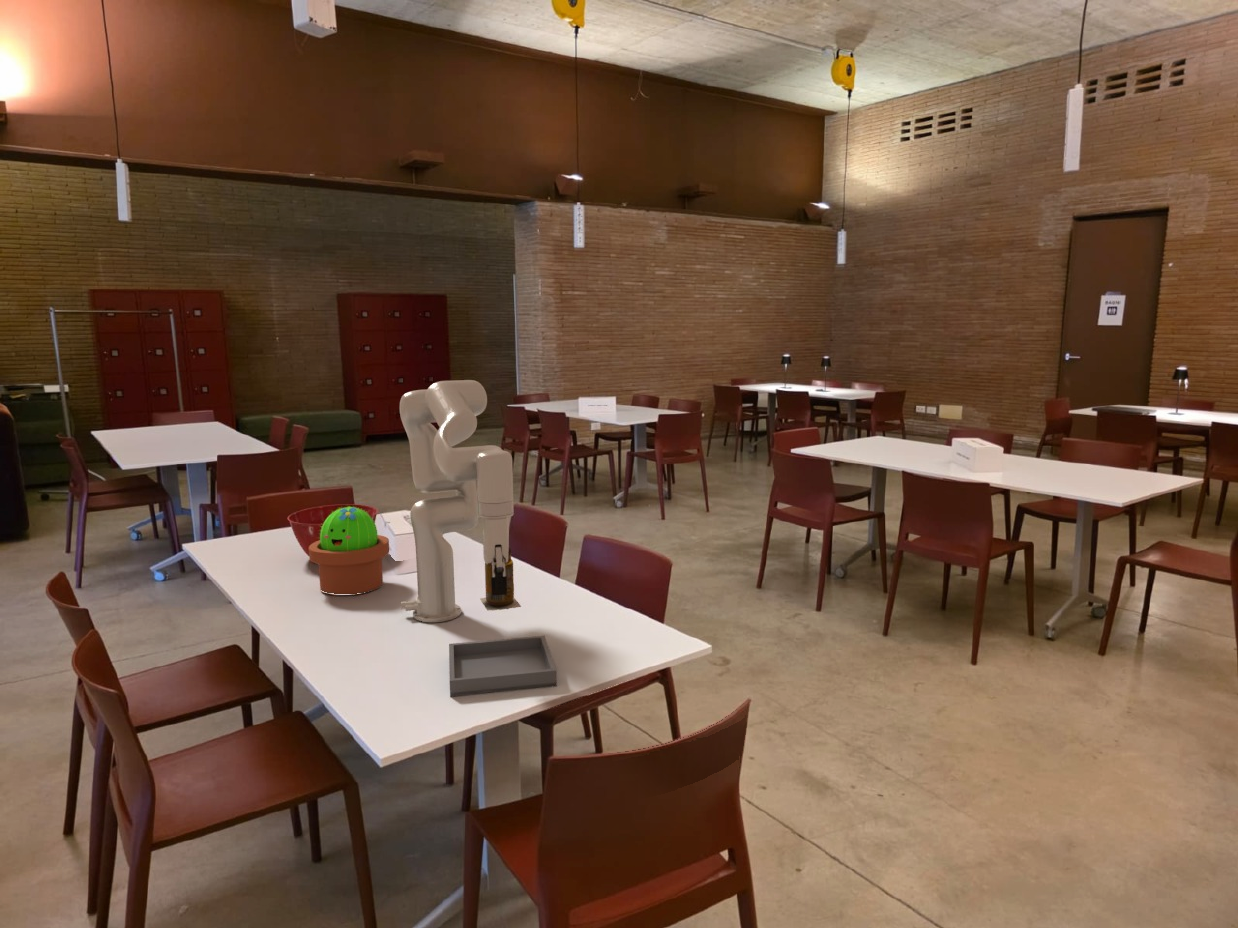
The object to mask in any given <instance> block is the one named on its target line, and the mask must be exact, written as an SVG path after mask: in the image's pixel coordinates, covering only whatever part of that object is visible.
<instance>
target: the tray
mask: <svg viewBox="0 0 1238 928" xmlns="http://www.w3.org/2000/svg"><path fill="white" fill-rule="evenodd" d="M549 647H550V646H549V644H548V642H547V639H546V636H545V635H535V636H523V637H515V638H514V637H512V638H501V639H490V640H489V639H488V640H477V641H469V642H465V641H464V642H455V643H449V644H448V654H449V655H448V660H449V662H448V664H449V665H448V668H449V669H448V670H449V672H448V673H449V694H450V695H449V696H450V698H453V697H454V698H455V697H463V696H464V697H465V696H470V695H471V696H473V695H483V694H494V693H502V692H512V691H513V692H514V691H521V690H530V689H542V688H553V687H557V684H558V683H557V681H558V680H557V676H558V675H557V668H556V665H555V662H554V659H553V657H552V654H551V651H550V650H551V649H550V648H549ZM552 686H553V687H552Z"/></svg>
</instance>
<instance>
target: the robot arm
mask: <svg viewBox="0 0 1238 928" xmlns="http://www.w3.org/2000/svg"><path fill="white" fill-rule="evenodd" d="M487 404H488V395H487V392H486V390H485V387H484V386H483V385H482V383H480V382H479V381H476V380H474V379H473V380H472V379H464V380H457V379H456V380H440V381H436V382H434V383H432V384H431V385H430V386H429V387H428V388H427V389H417V390H411V391H408V392H406V393H404V394H403V395H402V396H401V398H400V401H399V414H400V415H399V416H400V420H401V422H402V425H403V429H404V430H405V432H406V435H407V438H408V442H409V449H410V450H409V451H410V462H411V469H412V470H411V471H412V480H413V484H414V487H415V490H417V492H419V493H423V494H434V493H435V494H436V493H442V492H445V493H447V492H452V491H453V492H455V495H450V496H440V497H431V498H424V499H421V500H418V501H417V502H415V503H414V504H413V505H412V507H411V509H410V513H409V515H410V521H411V526H412V531H413V536H414V543H415V557H416V558H415V559H416V561H415V563H416V578H417V597H416V599H413V601H401V602H400V608H401V610H405V612H410V611H413V612H412V617H413V619H415V620H416V621H418V622H421V621H422V622H421V623H441V622H443V623H444V622H447V621H450V620H454V619H456V618H457V617H459V616H460V615H461V614H462V607H461V606H460V605H458V604H456V591H455V589H456V587H455V569H454V568H455V567H454V551H453V547H452V545H451V544H450V542H449V541H447V540H446V538H444V536H443V535H445V534H449V533H455V532H457V533H458V532H462V531H470V530H472V529H474V528H475V527H477V525H478V521H479V518H481V519H482V540H483V541H482V543H483V544H482V545H483V549H482V551H483V553H482V554H483V561H484V564H485V563H486V564H487V565H488V563H491V562H492V577H491V591H492V595H506V594H507V578H506V574H505V563H507V562H508V551H509V548H510V546H509V545H510V544H509V540H510V539H509V537H510V532H509V528H510V527H509V518H511V517H513V516H514V514H515V513H514V473H513V472H514V471H513V457H512V454H511V452H509V451H507V450H503V449H502V447H500V446H497V445H493V444H492V445H491V444H490V445H476V446H461V447H455V446H456V445H458V444H460V443H462V442H464V441H465V440H467V439H469V438H470V437H471V436H472V435H473V434H474V433H475V432H476V429H477V427H478V426H477V425H478V418H477V416H479V415H481V414H482V413H483V412H484V411H485V410H486V409H487ZM432 423H437V425H438V427H439V428H438V429H437V428H436V427H435V426H434V425H433V424H432ZM505 558H506V559H505ZM502 559H503V562H502ZM494 560H496V562H494ZM495 566H496V567H495Z"/></svg>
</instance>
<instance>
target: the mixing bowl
mask: <svg viewBox="0 0 1238 928" xmlns="http://www.w3.org/2000/svg"><path fill="white" fill-rule="evenodd" d="M349 506H350V507H353V506H354V507H355V508H359V509H361V508H362V509H361V510H363V511H365V512H366V513H367V514H368V515H369V516H370V517H371V518H372V519H373V521H375V522H374V523H375V524H376V520H377V514H378V513H379V509H378V508H376V507H375V506H370V505H365V504H354V503H353V504H350V503H348V504H346V503H345V504H343V503H342V504H329V505H321V506H314V507H310V508H305V509H301V510H299V511H295V512H293V513H291V514H290V515H288V516H287V520H288V521H289V525H290V527H291V530H292V532H293V534H294V536H295V539H296V541H297V543H298V544H299V546H300V547H301V549H302V550H303V552H304V553H305V554H306V555H307V556H308V557H309V546H310V545H311V544H312V543H314V542H316V541H319V540H320V533H321V531H320V530H321V529H322V527H321V526H323V524H324V523H323V522H325V520H326V519H327V517H328V516H329V515H330V514H332V512H334V511H336V510H338V508H339V507H340V508H344V507H349ZM356 506H357V507H356ZM340 508H339V509H340Z"/></svg>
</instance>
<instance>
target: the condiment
mask: <svg viewBox="0 0 1238 928" xmlns="http://www.w3.org/2000/svg"><path fill="white" fill-rule="evenodd" d="M505 559H506V558H505ZM494 562H496V560H494ZM502 562H503V559H502ZM495 567H496V566H495ZM505 574H506V578H507V594H506V595H492V591H491V577H492V562H491V563H488V565H487V564H486V563H485V562H484V576H485V577H484V579H485V580H484V581H485V597H480V598H479V599H480V601H481V603H482V605H483V607H484V608H485V609H486V611H498V610H499V611H500V610H501V611H502V610H509V609H516V608H521V607H522V606H521V604H520V602H518V600H517V599H516V598H515V584H514V561H513V559H512V549H511V547H509V551H508V562H507V563H505Z"/></svg>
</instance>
